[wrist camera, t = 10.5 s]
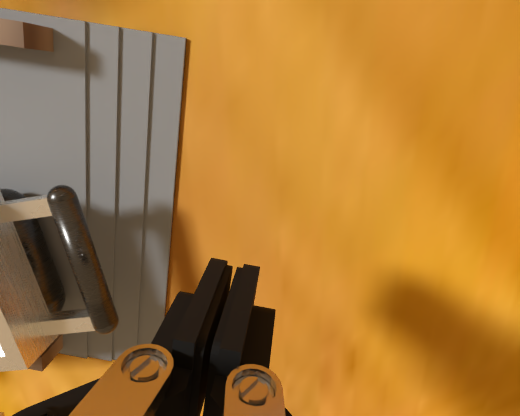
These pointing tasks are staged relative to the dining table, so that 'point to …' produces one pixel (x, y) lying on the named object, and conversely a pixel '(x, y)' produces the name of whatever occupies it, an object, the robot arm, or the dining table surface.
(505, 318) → the dining table surface
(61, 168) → the dock
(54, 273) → the trolley
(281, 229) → the dining table surface
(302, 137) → the dining table surface
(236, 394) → the robot arm
